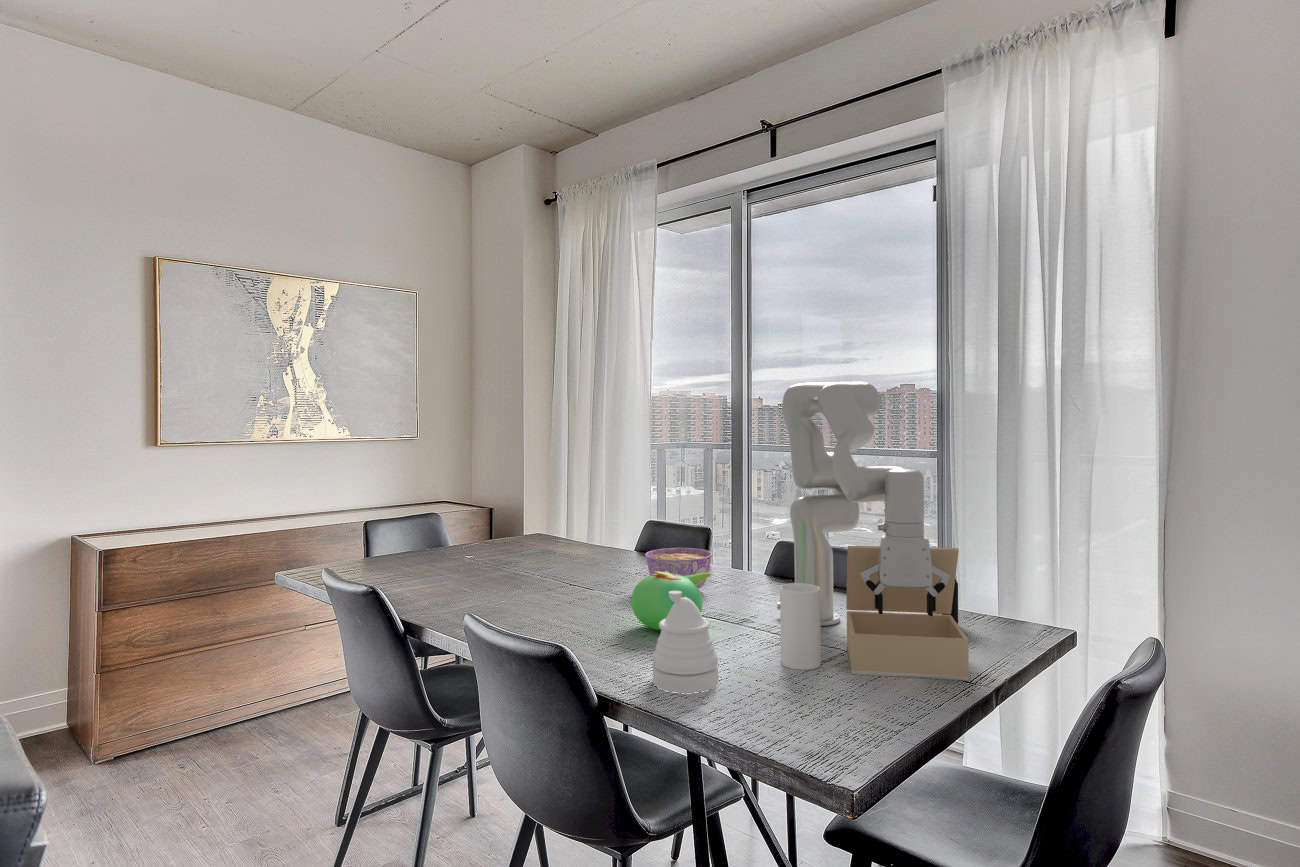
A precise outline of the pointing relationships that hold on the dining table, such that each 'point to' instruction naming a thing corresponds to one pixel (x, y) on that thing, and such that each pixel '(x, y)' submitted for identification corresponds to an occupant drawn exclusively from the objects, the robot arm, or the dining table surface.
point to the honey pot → (684, 650)
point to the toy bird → (663, 595)
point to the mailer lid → (898, 596)
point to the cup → (800, 626)
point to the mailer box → (907, 645)
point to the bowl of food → (679, 561)
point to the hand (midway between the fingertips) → (904, 613)
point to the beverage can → (953, 604)
